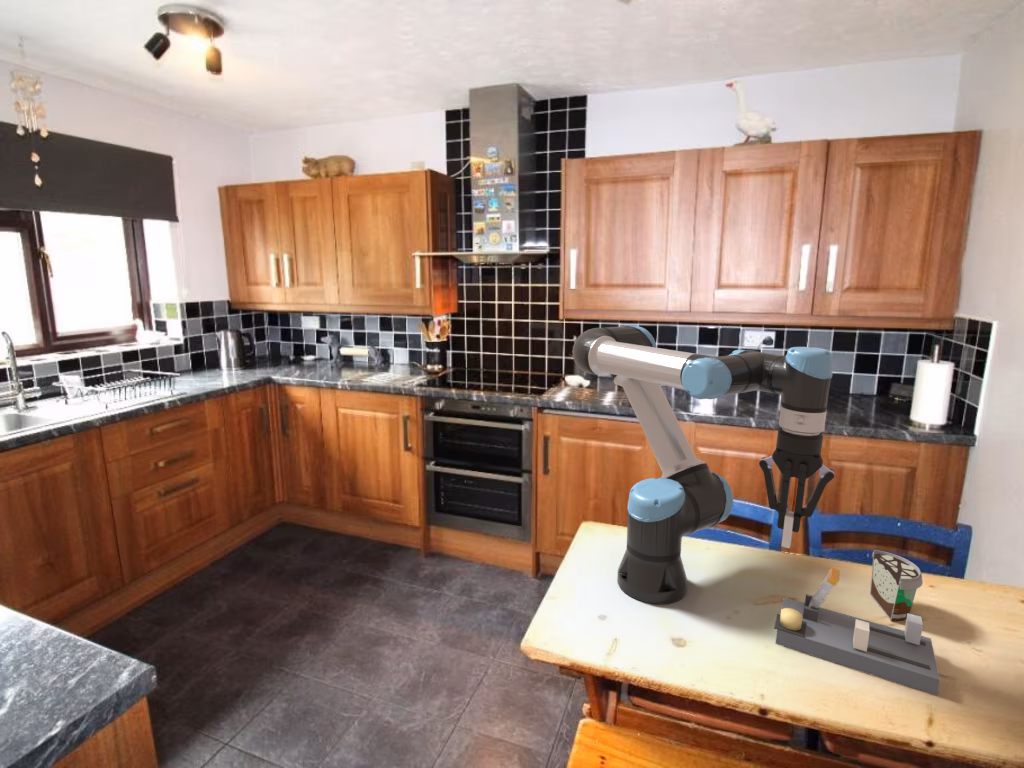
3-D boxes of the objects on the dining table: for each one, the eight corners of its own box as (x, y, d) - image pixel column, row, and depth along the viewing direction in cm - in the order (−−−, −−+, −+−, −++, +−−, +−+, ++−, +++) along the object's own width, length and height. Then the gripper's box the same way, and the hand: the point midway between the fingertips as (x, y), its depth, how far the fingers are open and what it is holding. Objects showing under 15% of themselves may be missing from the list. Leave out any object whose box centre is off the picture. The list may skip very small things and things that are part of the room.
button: (778, 626, 100) (779, 615, 99) (781, 616, 102) (782, 605, 102) (800, 632, 98) (801, 622, 97) (802, 622, 101) (803, 612, 100)
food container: (929, 630, 103) (937, 583, 101) (894, 625, 105) (901, 580, 103) (898, 593, 115) (904, 551, 113) (866, 590, 116) (872, 548, 115)
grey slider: (905, 641, 95) (908, 621, 94) (904, 632, 98) (907, 613, 97) (919, 645, 94) (922, 625, 93) (917, 636, 97) (921, 616, 96)
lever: (805, 612, 103) (831, 575, 99) (806, 603, 106) (832, 566, 102) (813, 617, 102) (839, 580, 98) (814, 607, 105) (839, 570, 102)
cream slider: (853, 647, 94) (855, 627, 93) (853, 638, 96) (855, 619, 95) (866, 651, 93) (869, 631, 92) (866, 642, 95) (869, 622, 94)
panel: (772, 642, 100) (775, 618, 99) (779, 609, 110) (782, 586, 109) (936, 695, 87) (941, 668, 86) (928, 652, 97) (932, 627, 96)
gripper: (759, 429, 100) (747, 543, 105) (840, 441, 93) (823, 562, 98) (765, 420, 106) (753, 528, 111) (841, 430, 99) (825, 545, 104)
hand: (786, 544), depth 104 cm, fingers closed
